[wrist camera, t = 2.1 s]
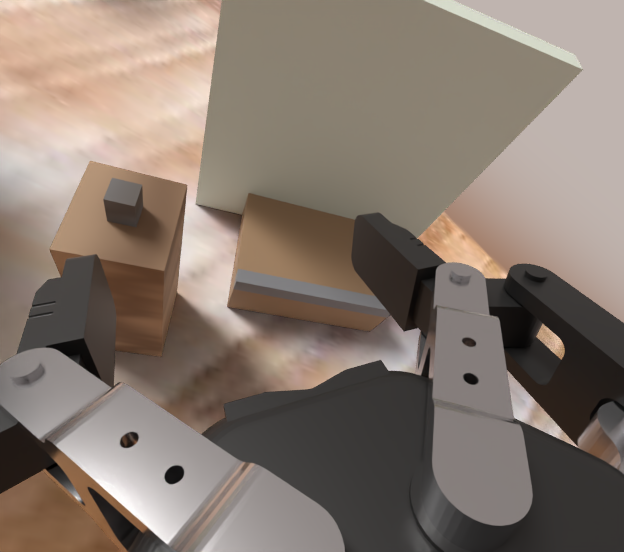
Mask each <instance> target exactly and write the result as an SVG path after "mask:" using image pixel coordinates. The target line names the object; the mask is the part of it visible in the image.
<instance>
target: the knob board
mask: <svg viewBox="0 0 624 552" xmlns="http://www.w3.org/2000/svg"><path fill="white" fill-rule="evenodd" d="M186 193H187V185H186V184H182V183H178V182H174V181H170V180H166V179H162V178H158V177H154V176H149V175H145V174H141V173H137V172H133V171H129V170H125V169H121V168H117V167H113V166H109V165H105V164H101V163H97V162H93V161H90V162H89V164H88V166H87V168H86V171H85V173H84V175H83V177H82V179H81V181H80V184H79V186H78V188H77V190H76V192H75V195H74V197H73V199H72V201H71V203H70V205H69V208H68V210H67V212H66V214H65V216H64V218H63V221H62V223H61V225H60V227H59V229H58V232H57V234H56V236H55V238H54V240H53V242H52V245H51V247H50V252H51V254H52V257H53V259H54V261H55V264H56V266H57V268H58V271H59V273H60V276H61V277H62V274H63V269H64V265H65V261H66V259H67V258H74V257H80V256H87V255H94V254H97V255H98V257H99V259H100V261H101V264H102V267H103V270H104V273H105V276H106V279H107V282H108V285H109V288H110V291H111V294H112V297H113V300H114V304H115V309H116V340H115V351H122V352H130V353H137V354H145V355H152V356H160V357H161V356H162V352H163V348H164V344H165V340H166V335H167V331H168V327H169V323H170V319H171V315H172V310H173V306H174V302H175V298H176V294H177V286H178V276H179V265H180V255H181V245H182V234H183V224H184V214H185V203H186Z"/></svg>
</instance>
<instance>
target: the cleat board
mask: <svg viewBox="0 0 624 552" xmlns="http://www.w3.org/2000/svg"><path fill="white" fill-rule="evenodd" d="M582 70H583V69H582V67H581V65H580V63H579V61H578V59H577V58H576V56H575V54H572V53H570V52H568V51H566V50H563V49H561V48H559V47H557V46H554V45H552V44H550V43H548V42H545V41H543V40H541V39H539V38H536V37H534V36H532V35H530V34H527V33H525V32H523V31H521V30H518V29H516V28H514V27H512V26H509V25H507V24H505V23H503V22H500V21H498V20H496V19H494V18H491V17H489V16H487V15H485V14H482V13H480V12H478V11H475V10H473V9H471V8H469V7H467V6H464V5H462V4H460V3H458V2H455V1H453V0H222V3H221V11H220V19H219V27H218V34H217V42H216V50H215V58H214V65H213V73H212V81H211V88H210V96H209V104H208V112H207V119H206V127H205V135H204V143H203V150H202V158H201V166H200V174H199V181H198V189H197V197H196V204H198V205H202V206H206V207H211V208H215V209H219V210H223V211H227V212H232V213H236V214H240V215H242V218H241V224H240V231H239V237H238V243H237V249H236V255H235V261H234V268H233V274H232V280H231V286H230V292H229V298H228V304H227V307H231V308H237V309H243V310H248V311H254V312H260V313H266V314H272V315H277V316H283V317H289V318H295V319H300V320H306V321H312V322H318V323H323V324H329V325H335V326H341V327H346V328H352V329H358V330H364V331H369V332H370V331H371V330H372V329H374V328H375V327H376V326H377V325H379V324H380V323H381V322H382V321H383V320H385V319H386V318H387V317H388V316H390V313H389V312H388V311H387V310H386V309H385V307H384V306H383V305H382V304H381V302H380V301H379V300H378V299H377V297H376V296H375V295H374V294H373V292H372V291H371V290H370V289H369V288H368V286H367V285H366V284H365V283H364V281H363V280H362V279H361V278H360V276H359V275H358V274H357V273H356V271H355V270H354V267H353V264H352V259H351V253H352V243H353V233H354V223H355V219H356V217H357V216H358V215H363V214H369V213H376V212H379V213H381V214H382V215H383V216H384V217H385V218H387V219H388V220H389V221H390V222H391V223H392V224H396V225H398V226H400V227H402V228H405V229H407V230H408V231H409V232H411V233H412V234H413V235H414V236H415V237H416V239H417V238H418V237H419V236H420V235H421V234H422V233H423V232H424V231H425V230H426V229H427V228H428V227H429V226H430V225H431V224H432V223H433V222H434V221H435V220H436V219H437V218H438V217H439V216H440V215H441V214H442V213H443V212H444V211H445V210H446V208H448V207H449V205H450V204H451V203H453V201H454V200H455V199H456V198H457V197H458V196H459V195H460V194H461V193H462V192H463V191H464V190H465V189H466V188H467V187H468V186H469V185H470V184H471V183H472V182H473V181H474V180H475V179H476V178H477V177H478V176H479V175H480V174H481V173H482V172H483V171H484V170H485V169H486V168H487V167H488V166H489V165H490V164H491V163H492V162H493V161H494V160H495V159H496V157H498V156H499V155H500V154H501V153H502V152H503V151H504V149H506V147H507V146H508V145H509V144H510V143H511V142H512V141H513V140H514V139H515V138H516V137H517V136H518V135H519V134H520V133H521V132H522V131H523V130H524V129H525V128H526V127H527V126H528V125H529V124H530V123H531V122H532V121H533V120H534V119H535V118H536V117H537V116H538V115H539V114H540V113H541V112H542V111H543V110H544V108H546V107H547V106H548V105H549V104H550V103H551V102H552V101H553V100H554V99H555V98H556V97H557V95H559V94H560V93H561V91H562V90H563V89H564V88H565V87H566V86H567V85H568V84H569V83H570V82H571V81H572V80H573V79H574V78H575V77H576V76H577V75H578V74H579V73H580V72H581V71H582Z"/></svg>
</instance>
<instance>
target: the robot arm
mask: <svg viewBox="0 0 624 552" xmlns="http://www.w3.org/2000/svg"><path fill="white" fill-rule="evenodd" d="M351 259H352V264H353V267H354V270H355V271H356V273H357V274H358V275H359V276H360V278H361V279H362V280H363V281H364V283H365V284H366V285H367V286H368V288H369V289H370V290H371V291H372V292H373V294H374V295H375V296H376V297H377V299H378V300H379V301H380V302H381V304H382V305H383V306H384V307H385V309H386V310H387V311H388V312H389V313H390V315H391V316H392V317H393V318H394V320H395V321H396V322H397V323H398V325H399V326H400V327H401V328H402V329H403V331H408V330H412V329H415V328H419V329H420V330H421V332H420V336H419V341H418V351H417V360H416V370H415V374H413V373H408V372H402V371H388V370H387V368H386V367H385V365H384V364H383V362H382V361H381V360H379V361H375V362H372V363H368V364H364V365H361V366H357V367H354V368H350V369H347V370H344V371H343V372H341V373H339V374H337V375H336V376H334V377H332V378H330V379H329V380H327V381H325V382H323V383H321V384H320V385H318V386H316V387H314V388H312V389H307V390H292V391H276V392H265V393H261V394H258V395H254V396H251V397H247V398H243V399H240V400H236V401H233V402H229V403H226V404H224V410H225V416H226V418H224V419H222V420H220V421H218V422H217V423H215V424H214V425H213V426H211V427H210V428H208V429H207V430H206V431H205V432H204V433H203V434H199V433H198V432H197V431H195V430H194V429H192V428H191V427H189V426H188V425H186V424H185V423H183V422H182V421H180V420H179V419H177V418H176V417H175V416H173V415H172V414H170V413H169V412H167V411H166V410H164V409H163V408H161V407H160V406H158V405H157V404H155V403H154V402H152V401H151V400H150V399H148V398H147V397H145V396H144V395H142V394H141V393H139V392H138V391H136V390H135V389H133V388H132V387H130V386H129V385H127V384H125V383H122V382H119V383H117V384H116V385H115V386H114V365H115V340H116V309H115V304H114V300H113V297H112V294H111V291H110V288H109V285H108V282H107V279H106V276H105V273H104V270H103V267H102V264H101V261H100V259H99V257H98V255H97V254H94V255H87V256H80V257H74V258H67V259H66V261H65V265H64V269H63V274H62V277H61V278H55V279H49V280H47V281H46V282H45V284H44V285H43V286H42V287H41V288H40V289H39V290H38V291H37V292H36V294H35V297H34V300H33V303H32V308H31V310H30V313H29V319H27V322H26V326H25V329H24V332H23V335H22V338H21V342H20V345H19V348H18V351H17V354H16V355H14V356H13V357H11V358H9V359H7V360H6V361H4V362H3V363H2V364H0V494H1V493H2V492H4V491H6V490H8V489H10V488H11V487H13V486H15V485H17V484H19V483H20V482H22V481H24V480H26V479H28V478H29V477H31V476H33V475H35V474H37V473H38V472H40V471H43V472H44V473H45V474H46V475H48V476H49V477H50V478H51V479H52V480H53V481H54V482H55V483H56V484H57V485H58V486H59V487H60V488H61V489H62V490H63V491H64V492H65V493H66V494H67V495H68V496H69V497H71V498H72V499H73V500H74V501H75V502H76V503H77V504H78V505H79V506H80V507H81V508H82V509H83V510H84V511H85V512H86V513H87V514H88V515H89V516H90V517H91V518H92V519H93V520H94V521H95V522H96V524H97V525H98V526H99V527H100V528H101V530H102V531H103V532H104V533H105V534H106V536H107V537H108V538H109V539H110V540H111V541H112V542H113V543H114V544H115V545H116V546H117V547H118V548H119V549H120V550H121V551H122V552H624V323H623V322H621V321H620V320H619V319H617V318H616V317H614V316H613V315H612V314H610V313H609V312H607V311H606V310H605V309H603V308H601V307H600V306H599V305H597V304H596V303H595V302H593V301H592V300H591V299H589V298H588V297H586V296H585V295H583V294H582V293H581V292H579V291H578V290H577V289H575V288H574V287H572V286H571V285H570V284H568V283H567V282H565V281H564V280H562V279H561V278H560V277H558V276H557V275H555V274H554V273H553V272H551V271H549V270H547V269H545V268H543V267H540V266H536V265H531V264H517V265H514V266H512V267H511V268H510V270H509V273H508V275H507V278H506V279H488V278H485V277H484V275H483V274H482V273H481V272H480V271H478V270H477V269H475V268H473V267H471V266H469V265H466V264H462V263H446V262H445V261H443V260H442V259H441V258H440V257H439V256H438V255H436V254H435V253H434V252H433V251H432V250H431V249H429V248H428V247H427V246H426V245H424V244H423V243H422V242H421V241H420V240H419V239H416V237H415V236H414V235H413V234H412V233H411V232H409V231H408V230H407V229H405V228H402V227H400V226H398V225H396V224H392V223H391V222H390V221H389V220H388V219H387V218H385V217H384V216H383V215H382V214H381V213H379V212H376V213H369V214H363V215H358V216H357V217H356V219H355V223H354V233H353V243H352V253H351ZM542 323H543V324H544V325H545V326H547V327H548V328H549V329H550V330H551V331H552V332H553V333H555V334H556V335H557V336H558V337H559V338H560V339H561V340H562V342H563V344H564V347H565V354H564V357H563V358H562V360H561V359H560V358H558V357H557V356H556V355H555V354H554V353H553V352H552V351H551V350H550V349H549V348H548V347H546V346H545V345H544V344H543V343H542V342H541V341H540V340H539V339H538V338H537V337H536V336H537V334H538V332H539V330H540V327H541V325H542ZM507 370H508V371H509V372H510V373H511V374H512V375H513V377H514V378H515V379H516V380H517V381H518V382H519V383H520V384H521V385H522V386H523V387H524V389H525V390H526V391H527V392H528V393H529V394H530V395H531V396H532V397H533V398H534V399H535V401H536V402H537V403H538V404H539V405H540V406H541V407H542V408H543V409H544V410H545V411H546V413H547V414H548V415H549V416H550V417H551V418H552V419H553V420H554V421H555V422H556V423H557V425H558V426H559V427H560V428H561V429H562V430H563V431H564V432H565V433H566V434H567V435H568V436H569V438H570V439H571V440H572V441H573V442H574V443H575V444H576V445H577V446H578V448H577V447H575V446H573V445H571V444H568V443H566V442H564V441H562V440H560V439H558V438H556V437H553V436H551V435H549V434H547V433H545V432H543V431H541V430H538V429H536V428H534V427H532V426H530V425H528V424H525V423H523V422H521V421H519V420H517V419H515V418H514V416H513V410H512V403H511V396H510V389H509V382H508V375H507Z"/></svg>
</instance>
